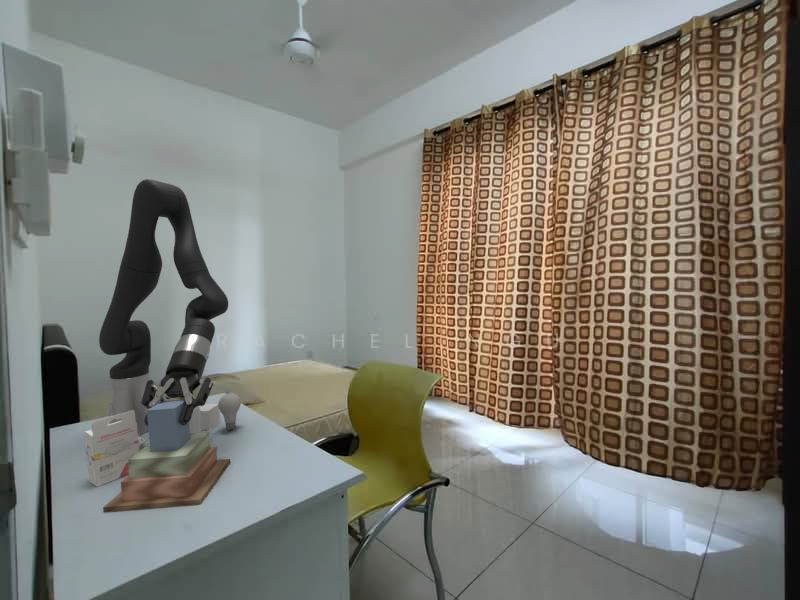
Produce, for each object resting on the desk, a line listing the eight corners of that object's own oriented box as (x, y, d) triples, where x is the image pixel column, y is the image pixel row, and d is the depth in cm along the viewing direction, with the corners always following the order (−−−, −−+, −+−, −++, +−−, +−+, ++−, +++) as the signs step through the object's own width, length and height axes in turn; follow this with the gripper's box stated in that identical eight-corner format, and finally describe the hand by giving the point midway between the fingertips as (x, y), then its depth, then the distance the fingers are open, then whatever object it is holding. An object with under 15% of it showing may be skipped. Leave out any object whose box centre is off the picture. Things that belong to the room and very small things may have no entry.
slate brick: (150, 452, 74) (146, 410, 73) (164, 440, 79) (161, 401, 78) (178, 449, 74) (174, 408, 74) (190, 437, 80) (187, 399, 79)
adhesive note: (189, 430, 105) (188, 411, 105) (201, 422, 111) (200, 404, 111) (209, 430, 105) (208, 410, 105) (220, 422, 111) (219, 403, 111)
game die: (144, 444, 97) (143, 434, 96) (145, 449, 94) (144, 438, 94) (128, 448, 94) (127, 438, 94) (128, 454, 92) (128, 442, 91)
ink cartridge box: (132, 463, 86) (127, 405, 86) (141, 469, 84) (137, 409, 83) (87, 481, 79) (82, 417, 78) (95, 488, 77) (90, 422, 76)
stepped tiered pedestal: (103, 512, 68) (100, 467, 68) (152, 468, 84) (149, 431, 84) (200, 504, 70) (198, 460, 70) (230, 462, 86) (228, 426, 86)
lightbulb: (216, 430, 105) (214, 394, 104) (237, 423, 110) (235, 389, 109) (224, 436, 101) (222, 398, 100) (245, 429, 105) (243, 393, 105)
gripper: (151, 350, 82) (120, 419, 71) (215, 347, 84) (195, 415, 73) (165, 366, 88) (138, 433, 77) (225, 364, 89) (207, 429, 78)
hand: (166, 424), depth 75 cm, fingers open, 6 cm apart
